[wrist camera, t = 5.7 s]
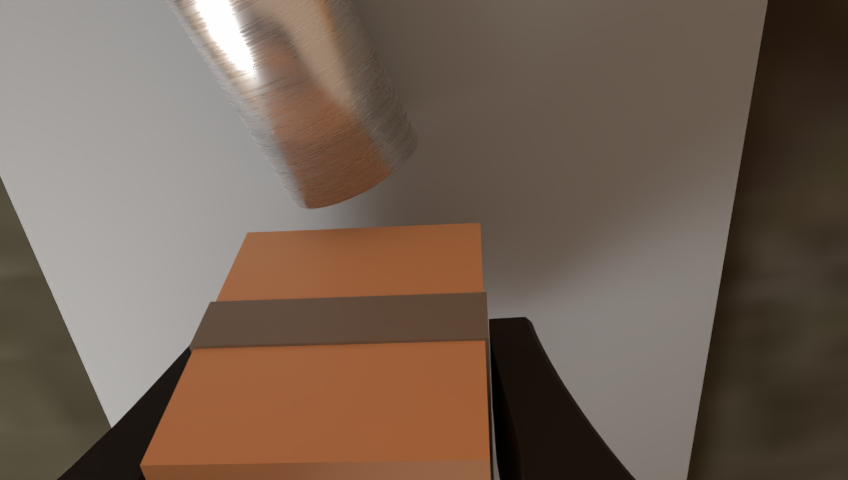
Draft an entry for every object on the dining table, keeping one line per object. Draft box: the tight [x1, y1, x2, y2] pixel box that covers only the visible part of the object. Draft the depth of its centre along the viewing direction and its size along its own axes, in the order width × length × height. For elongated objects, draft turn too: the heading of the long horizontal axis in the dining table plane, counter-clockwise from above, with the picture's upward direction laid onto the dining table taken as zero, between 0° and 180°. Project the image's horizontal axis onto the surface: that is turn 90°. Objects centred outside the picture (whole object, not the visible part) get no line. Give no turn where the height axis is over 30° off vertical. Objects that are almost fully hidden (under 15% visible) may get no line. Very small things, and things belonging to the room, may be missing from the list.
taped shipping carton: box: [140, 223, 494, 480], centre depth 11 cm, size 4×4×5 cm
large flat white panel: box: [0, 0, 768, 480], centre depth 15 cm, size 22×14×1 cm, turn 5°
